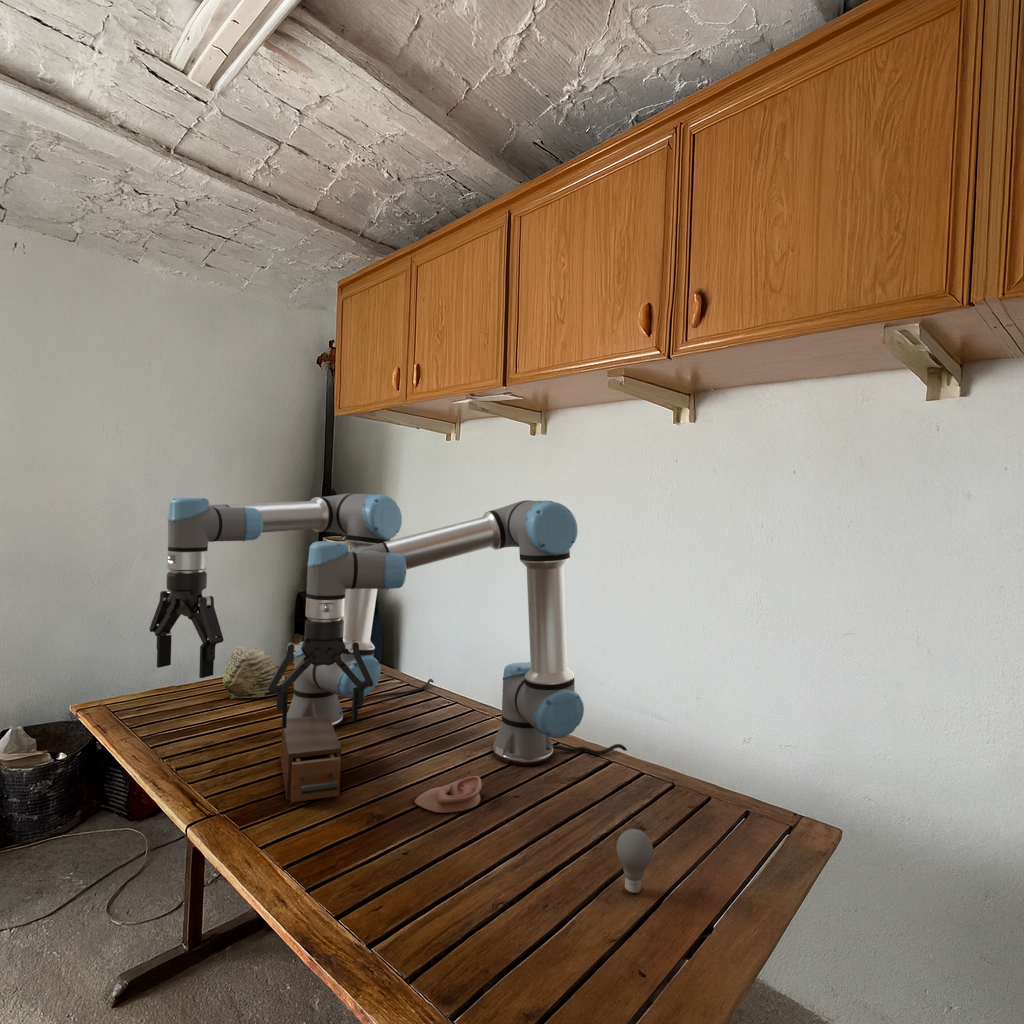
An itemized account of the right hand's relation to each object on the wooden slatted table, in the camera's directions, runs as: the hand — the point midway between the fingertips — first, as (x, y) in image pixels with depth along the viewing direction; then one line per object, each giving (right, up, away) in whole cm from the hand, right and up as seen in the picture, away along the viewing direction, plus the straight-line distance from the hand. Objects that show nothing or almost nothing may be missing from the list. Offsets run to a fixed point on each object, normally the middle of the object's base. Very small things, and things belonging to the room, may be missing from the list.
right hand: (319, 723), depth 128 cm
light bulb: (+59, -21, -22) cm, 66 cm away
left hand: (-30, +9, +6) cm, 32 cm away
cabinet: (-7, -17, +16) cm, 24 cm away
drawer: (-5, -16, +10) cm, 19 cm away
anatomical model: (+25, -19, +7) cm, 32 cm away
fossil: (-42, -15, +70) cm, 83 cm away
